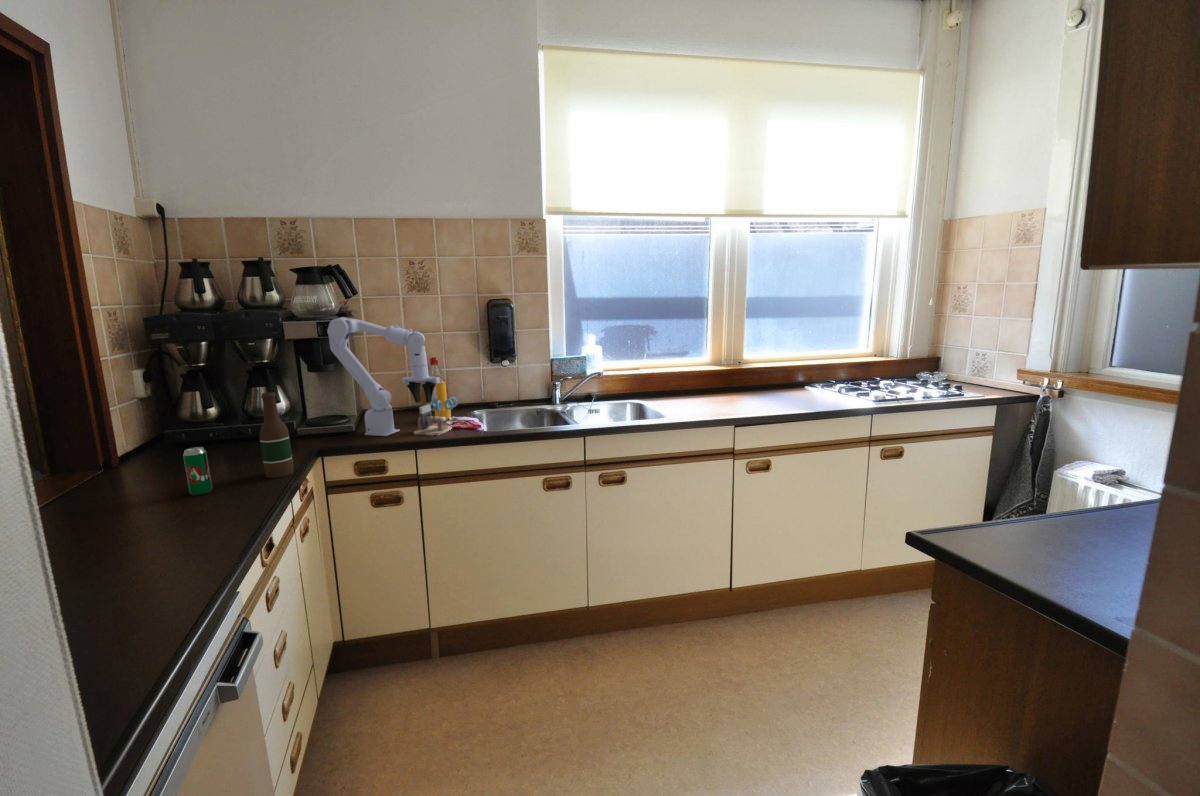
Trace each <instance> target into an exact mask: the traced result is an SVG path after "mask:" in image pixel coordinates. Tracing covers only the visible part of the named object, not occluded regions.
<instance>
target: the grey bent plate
mask: <svg viewBox="0 0 1200 796" xmlns="http://www.w3.org/2000/svg"><path fill="white" fill-rule="evenodd" d="M431 405H432V404H431V403H429V404H427V403H426V404H424V405H422V406H419V408H418V409H419V416H420V423H421V428H422V429H424V428H427V427H429V426H434V425H433V424H434V423H426V424H425V417H424V416H433V415H432V410H431V408H432V406H431Z"/></svg>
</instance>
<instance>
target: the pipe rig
mask: <svg viewBox="0 0 1200 796" xmlns="http://www.w3.org/2000/svg"><path fill="white" fill-rule="evenodd" d="M424 417H425V424H426V423H432V424H434V425H431V426H429V427H427V428H424V429H422V428H421V423H420V415H419V416H418V420H417V429H416V430H414V431H413V435H418V436H419V435H420V436H422V435H423V436H434V435H436V436H435V437H439V436H441V435H443V434H446V433H447V432H450V431H452V430H453V427H452V426H448V421H447V419H446V418H445V417H438V416H435V415H434V416H433V415H432V416H427V415H426V416H424ZM436 424H437V425H436ZM451 429H452V430H451ZM449 430H450V431H449ZM440 434H441V435H440ZM438 435H439V436H438Z"/></svg>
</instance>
